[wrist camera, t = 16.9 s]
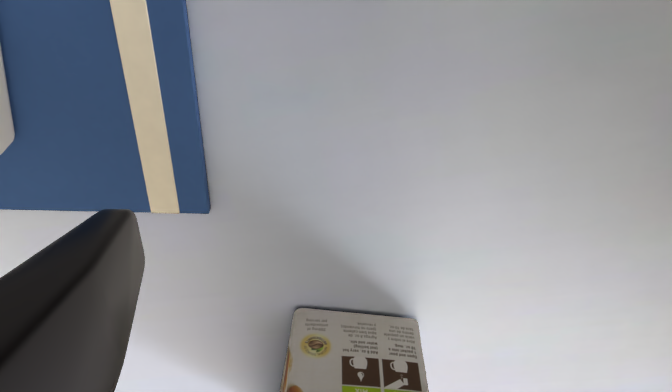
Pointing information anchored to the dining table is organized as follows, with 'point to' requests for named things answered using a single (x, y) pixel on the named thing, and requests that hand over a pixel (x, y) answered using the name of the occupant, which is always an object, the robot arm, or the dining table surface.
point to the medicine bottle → (5, 111)
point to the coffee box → (353, 353)
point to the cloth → (101, 107)
